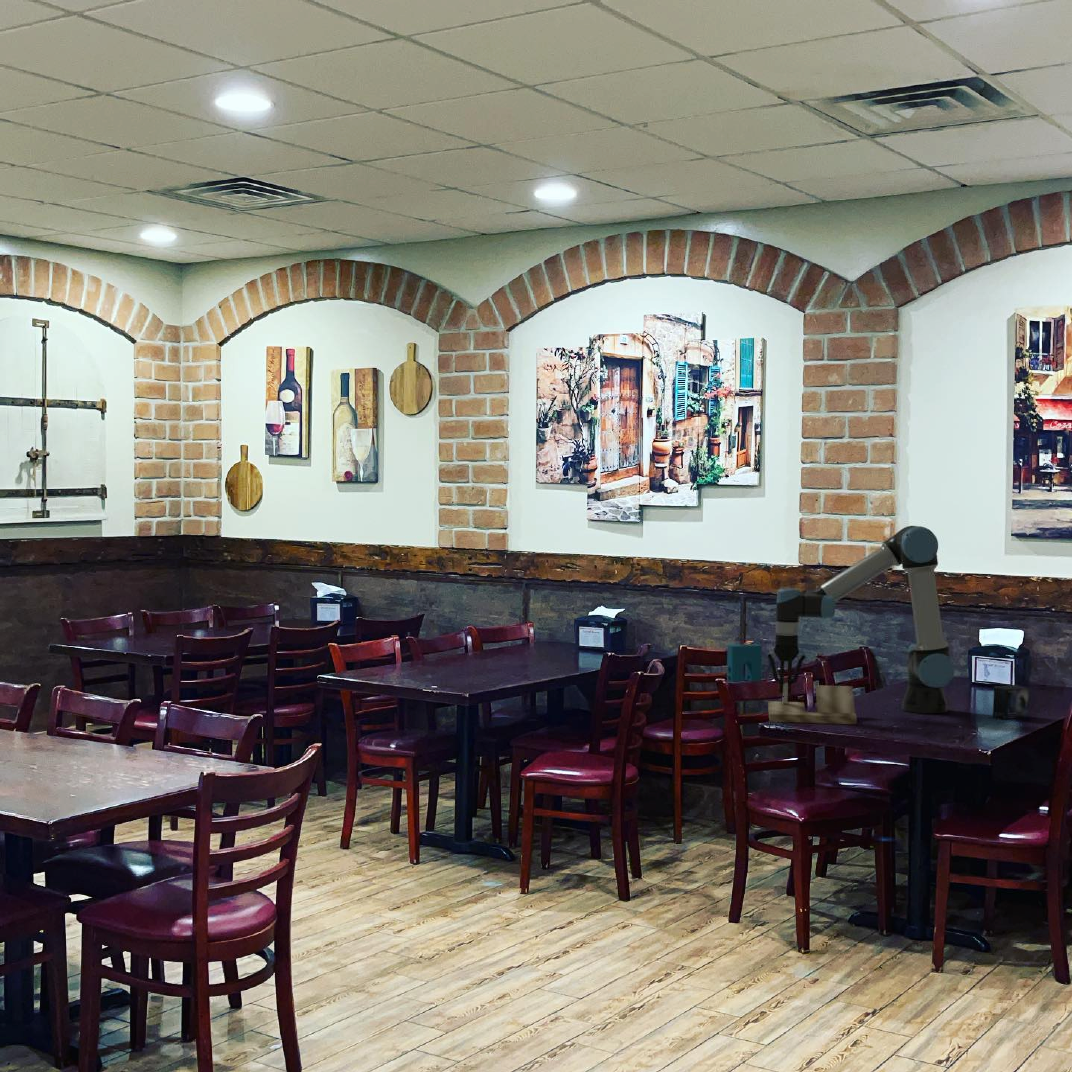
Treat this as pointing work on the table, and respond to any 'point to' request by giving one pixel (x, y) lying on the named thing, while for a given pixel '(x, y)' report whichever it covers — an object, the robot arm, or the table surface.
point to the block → (741, 656)
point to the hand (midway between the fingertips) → (784, 702)
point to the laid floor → (812, 717)
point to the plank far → (786, 706)
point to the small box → (1010, 702)
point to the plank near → (835, 699)
